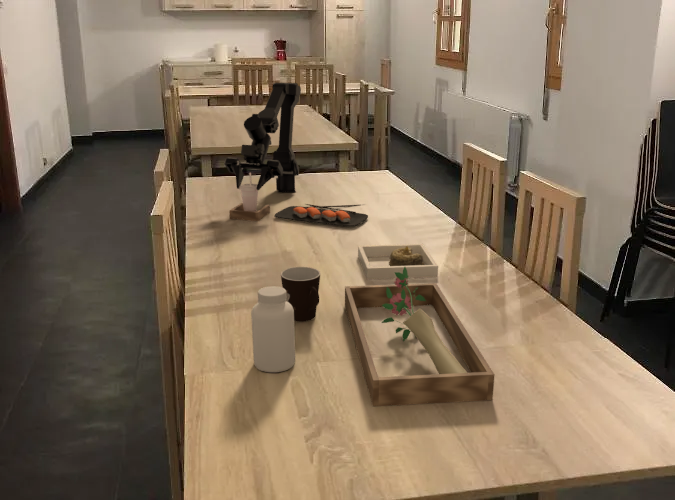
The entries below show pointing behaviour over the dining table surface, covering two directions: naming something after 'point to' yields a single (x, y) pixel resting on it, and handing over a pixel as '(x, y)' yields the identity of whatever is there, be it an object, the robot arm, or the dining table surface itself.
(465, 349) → the flower tray
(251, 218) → the rest
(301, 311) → the coffee mug
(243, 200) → the smoothie
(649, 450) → the dining table surface
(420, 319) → the flower vase
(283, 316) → the pill bottle
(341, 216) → the sushi plate
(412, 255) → the brown round lump
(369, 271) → the bagel tray
